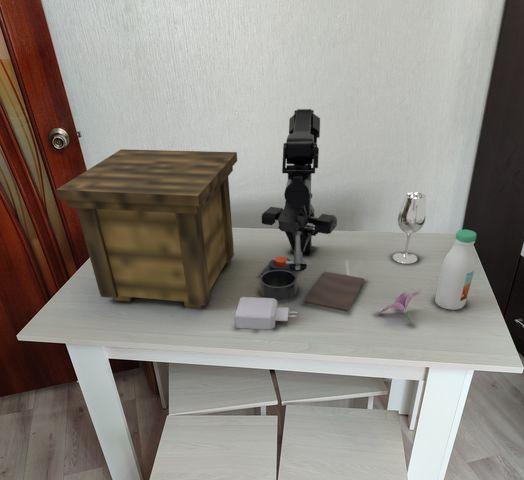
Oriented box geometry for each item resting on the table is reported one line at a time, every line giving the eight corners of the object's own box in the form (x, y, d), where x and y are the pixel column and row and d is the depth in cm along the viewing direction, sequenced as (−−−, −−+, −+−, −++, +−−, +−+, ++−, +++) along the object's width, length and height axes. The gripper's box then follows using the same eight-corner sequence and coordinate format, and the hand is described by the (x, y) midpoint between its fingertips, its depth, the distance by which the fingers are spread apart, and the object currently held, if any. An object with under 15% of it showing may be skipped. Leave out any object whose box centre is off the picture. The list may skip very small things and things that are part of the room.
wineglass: (390, 262, 146) (399, 198, 134) (394, 251, 151) (403, 189, 139) (416, 265, 143) (427, 201, 131) (419, 255, 149) (431, 192, 137)
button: (277, 260, 143) (277, 255, 142) (289, 262, 142) (289, 257, 141) (272, 266, 141) (272, 260, 140) (284, 268, 139) (284, 263, 138)
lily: (424, 312, 125) (413, 278, 122) (438, 320, 113) (427, 283, 111) (380, 327, 126) (369, 294, 124) (390, 337, 115) (378, 301, 113)
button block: (273, 262, 148) (273, 253, 146) (300, 267, 145) (300, 258, 143) (260, 276, 141) (260, 267, 139) (288, 282, 138) (288, 273, 136)
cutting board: (324, 274, 141) (325, 271, 140) (364, 282, 136) (364, 278, 136) (304, 304, 128) (304, 300, 127) (346, 313, 124) (347, 309, 123)
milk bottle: (449, 313, 122) (467, 241, 110) (428, 300, 127) (443, 230, 115) (471, 305, 125) (491, 234, 112) (449, 292, 130) (466, 223, 118)
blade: (286, 261, 131) (286, 227, 125) (310, 261, 130) (311, 228, 124) (285, 272, 126) (285, 238, 120) (310, 273, 125) (311, 238, 119)
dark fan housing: (269, 281, 139) (269, 267, 136) (301, 287, 135) (302, 273, 132) (254, 297, 131) (254, 283, 129) (288, 304, 128) (288, 290, 125)
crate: (212, 318, 124) (198, 195, 104) (91, 307, 130) (56, 189, 110) (243, 258, 151) (236, 152, 131) (141, 252, 157) (120, 149, 137)
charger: (295, 332, 117) (236, 329, 119) (297, 312, 125) (242, 310, 126) (295, 317, 114) (235, 314, 116) (298, 297, 122) (241, 295, 124)
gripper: (250, 198, 113) (253, 257, 123) (324, 208, 106) (321, 270, 116) (269, 184, 121) (271, 240, 130) (339, 192, 114) (335, 251, 124)
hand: (298, 250), depth 125 cm, fingers closed on blade, 2 cm apart
